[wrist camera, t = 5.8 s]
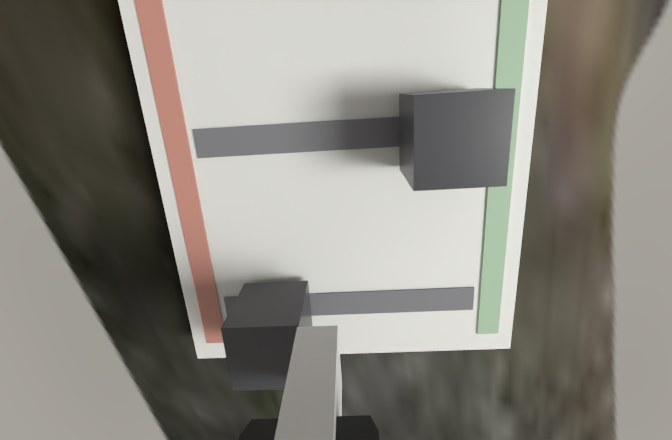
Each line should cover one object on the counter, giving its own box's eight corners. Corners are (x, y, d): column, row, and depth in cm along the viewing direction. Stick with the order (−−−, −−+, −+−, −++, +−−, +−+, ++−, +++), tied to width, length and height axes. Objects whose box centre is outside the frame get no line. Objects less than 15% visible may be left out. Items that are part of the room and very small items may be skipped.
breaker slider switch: (244, 283, 18) (220, 328, 14) (308, 280, 17) (298, 325, 14) (252, 336, 19) (232, 390, 15) (313, 335, 18) (305, 388, 15)
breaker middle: (399, 93, 15) (413, 94, 11) (477, 88, 14) (515, 88, 11) (399, 169, 16) (413, 191, 12) (472, 165, 15) (506, 186, 12)
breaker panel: (111, -153, 14) (73, -191, 12) (542, -196, 14) (575, -245, 12) (210, 334, 22) (196, 360, 20) (495, 324, 21) (510, 349, 19)
